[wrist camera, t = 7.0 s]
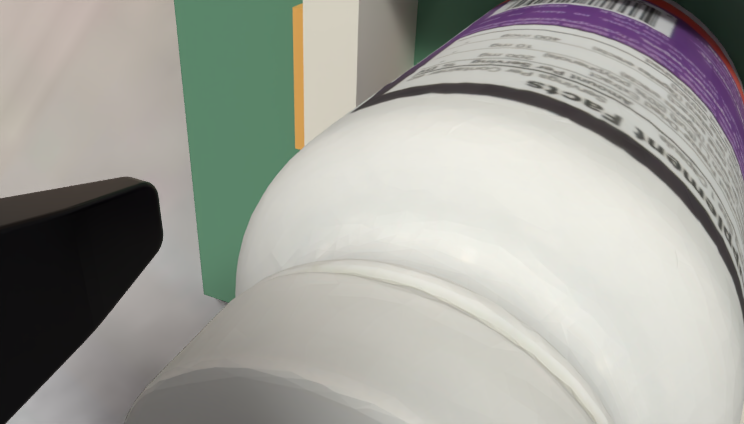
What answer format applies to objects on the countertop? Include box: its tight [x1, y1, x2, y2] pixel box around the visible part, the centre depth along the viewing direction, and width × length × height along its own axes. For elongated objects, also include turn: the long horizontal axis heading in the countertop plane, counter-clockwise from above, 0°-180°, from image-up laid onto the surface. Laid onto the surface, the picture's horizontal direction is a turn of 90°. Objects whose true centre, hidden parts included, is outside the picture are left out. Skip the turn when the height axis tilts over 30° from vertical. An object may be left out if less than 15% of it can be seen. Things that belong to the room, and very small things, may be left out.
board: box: [174, 0, 744, 424], centre depth 12 cm, size 18×14×4 cm
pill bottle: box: [124, 0, 744, 424], centre depth 9 cm, size 5×5×10 cm
